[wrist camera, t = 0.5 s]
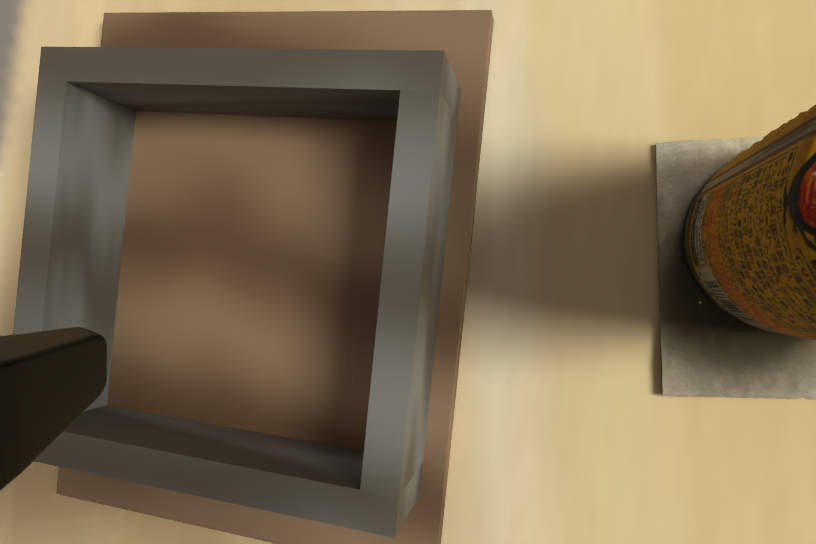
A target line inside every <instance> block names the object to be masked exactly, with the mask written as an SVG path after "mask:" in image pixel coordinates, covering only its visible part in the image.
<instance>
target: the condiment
mask: <svg viewBox="0 0 816 544" xmlns="http://www.w3.org/2000/svg"><path fill="white" fill-rule="evenodd" d="M656 164H657V206H658V218H657V219H658V256H659V281H660V321H661V336H660V337H661V353H662V387H663V396H677V397H688V396H691V397H693V396H698V397H740V398H780V399H801V398H805V399H816V105H815V106H813V107H812V108H810V109H809V110H808V111H806V112H801V113H800V114H799V115H798V116H797V117H796V118H794V119H792V120H790V121H789V122H787V123H785V124H783V125H781V126H780V127H779V128H777V129H776V130H774V131H771V132H770V133H769V134H768V135H766V136H765V137H751V138H736V139H713V140H697V141H680V142H665V143H656ZM699 301H702V303H701V304H700V305H699Z"/></svg>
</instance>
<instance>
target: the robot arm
mask: <svg viewBox="0 0 816 544" xmlns="http://www.w3.org/2000/svg"><path fill="white" fill-rule="evenodd" d="M106 382H107V342H106V340H105V338H104V337H103V336H102V335H100V334H98V333H96V332H93V331H91V330H89V329H86V328H83V327H71V328H63V329H55V330H47V331H39V332H31V333H23V334H15V335H7V336H0V491H1V490H2V489H3V488H4V487H5V486H7V485H8V484H9V483H10V482H11V481H12V480H14V479H15V478H16V477H17V476H18V475H19V474H20V473H22V472H23V471H24V470H25V469H26V468H27V467H28V466H29V465H30V464H31V463H32V462H33V461H34V460H35V459H36V458H37V457H38V456H39V455H40V454H41V453H42V452H43V451H44V450H45V449H46V448H48V447H49V446H50V445H51V444H52V443H53V442H54V441H55V440H56V439H57V438H58V437H59V436H60V435H61V434H62V433H63V432H64V431H65V430H66V429H67V428H68V427H69V426H70V425H71V424H72V423H73V422H74V421H75V420H76V419H77V418H78V417H79V416H80V415H81V414H82V413H83V412H84V411H85V410H86V409H87V408H88V407H89V406H90V405H91V404H92V403H93V402H94V401H95V400H96V399H97V398H98V397H99V396H100V395H101V393H102V392H103V390H104V388H105V385H106Z"/></svg>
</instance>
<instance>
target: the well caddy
mask: <svg viewBox="0 0 816 544" xmlns="http://www.w3.org/2000/svg"><path fill="white" fill-rule="evenodd" d="M493 22H494V20H493V15H492V10H451V11H308V12H166V13H104V19H103V29H102V39H101V47H41V56H40V66H39V76H38V87H37V97H36V107H35V117H34V127H33V137H32V147H31V158H30V168H29V178H28V188H27V198H26V208H25V218H24V229H23V239H22V249H21V259H20V269H19V279H18V289H17V299H16V310H15V320H14V330H13V335H15V334H23V333H31V332H39V331H47V330H55V329H63V328H71V327H83V328H86V329H89V330H91V331H93V332H96V333H98V334H100V335H102V336H103V337H104V338H105V340H106V342H107V382H106V385H105V388H104V390H103V392H102V393H101V395H100V396H99V397H98V398H97V399H96V400H95V401H94V402H93V403H92V404H91V405H90V406H89V407H88V408H87V409H86V410H85V411H84V412H83V413H82V414H81V415H80V416H79V417H78V418H77V419H76V420H75V421H74V422H73V423H72V424H71V425H70V426H69V427H68V428H67V429H66V430H65V431H64V432H63V433H62V434H61V435H60V436H59V437H58V438H57V439H56V440H55V441H54V442H53V443H52V444H51V445H50V446H49V447H48V448H46V449H45V450H44V451H43V452H42V453H41V454H40V455H39V456H38V457H37V458H36V459H35V460H34V461H36V462H41V463H46V464H50V465H55V466H59V474H58V484H57V494H60V495H65V496H69V497H73V498H78V499H82V500H87V501H91V502H95V503H100V504H104V505H109V506H113V507H117V508H122V509H126V510H131V511H135V512H139V513H144V514H148V515H153V516H157V517H161V518H166V519H170V520H175V521H179V522H184V523H188V524H192V525H197V526H201V527H206V528H210V529H214V530H219V531H223V532H228V533H232V534H236V535H241V536H245V537H250V538H254V539H258V540H263V541H267V542H272V543H276V544H441V535H442V525H443V516H444V506H445V496H446V486H447V476H448V466H449V456H450V446H451V437H452V427H453V417H454V407H455V397H456V387H457V377H458V367H459V357H460V348H461V338H462V328H463V318H464V308H465V298H466V288H467V278H468V269H469V259H470V249H471V239H472V229H473V219H474V209H475V199H476V190H477V180H478V170H479V160H480V150H481V140H482V130H483V120H484V110H485V101H486V91H487V81H488V71H489V61H490V51H491V41H492V31H493Z"/></svg>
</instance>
